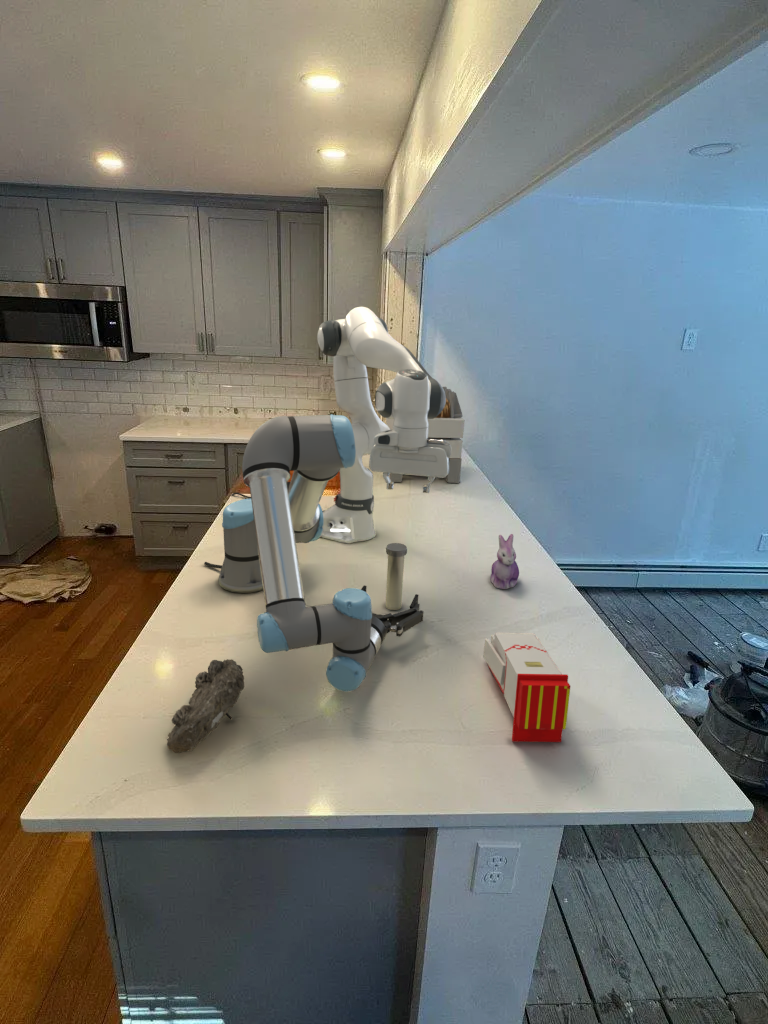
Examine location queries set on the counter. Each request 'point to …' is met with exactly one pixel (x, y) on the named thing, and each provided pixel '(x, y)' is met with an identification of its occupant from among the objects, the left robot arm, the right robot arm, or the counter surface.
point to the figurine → (505, 565)
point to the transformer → (444, 435)
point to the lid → (396, 549)
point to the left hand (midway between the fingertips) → (390, 594)
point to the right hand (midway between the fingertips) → (408, 490)
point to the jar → (394, 582)
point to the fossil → (206, 705)
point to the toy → (529, 686)
